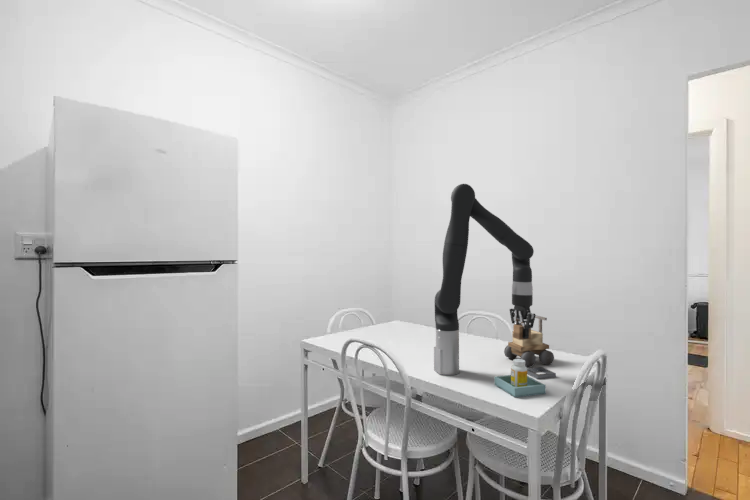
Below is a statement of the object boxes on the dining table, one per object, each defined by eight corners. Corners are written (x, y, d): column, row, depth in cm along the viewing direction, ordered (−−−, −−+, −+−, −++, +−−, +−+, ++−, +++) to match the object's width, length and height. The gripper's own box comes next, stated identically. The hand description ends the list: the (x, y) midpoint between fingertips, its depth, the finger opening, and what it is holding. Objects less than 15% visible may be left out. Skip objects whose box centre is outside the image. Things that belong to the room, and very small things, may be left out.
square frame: (537, 379, 142) (537, 375, 142) (523, 372, 150) (523, 368, 150) (555, 377, 144) (555, 373, 144) (541, 370, 152) (541, 366, 152)
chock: (519, 339, 144) (519, 326, 144) (513, 337, 148) (513, 324, 148) (530, 339, 145) (531, 326, 145) (524, 336, 149) (524, 324, 149)
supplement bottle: (508, 387, 132) (508, 360, 132) (514, 383, 136) (514, 357, 136) (523, 391, 128) (523, 363, 128) (529, 387, 132) (529, 360, 132)
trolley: (523, 367, 156) (523, 321, 156) (504, 358, 169) (504, 315, 169) (554, 364, 160) (553, 319, 159) (532, 355, 173) (532, 313, 173)
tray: (514, 397, 125) (514, 388, 125) (494, 384, 136) (494, 376, 136) (545, 393, 128) (545, 384, 128) (523, 381, 139) (523, 373, 139)
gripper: (542, 295, 141) (542, 340, 141) (519, 290, 154) (519, 332, 155) (524, 295, 139) (524, 341, 139) (503, 291, 153) (503, 333, 153)
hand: (521, 336), depth 147 cm, fingers closed on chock, 4 cm apart
